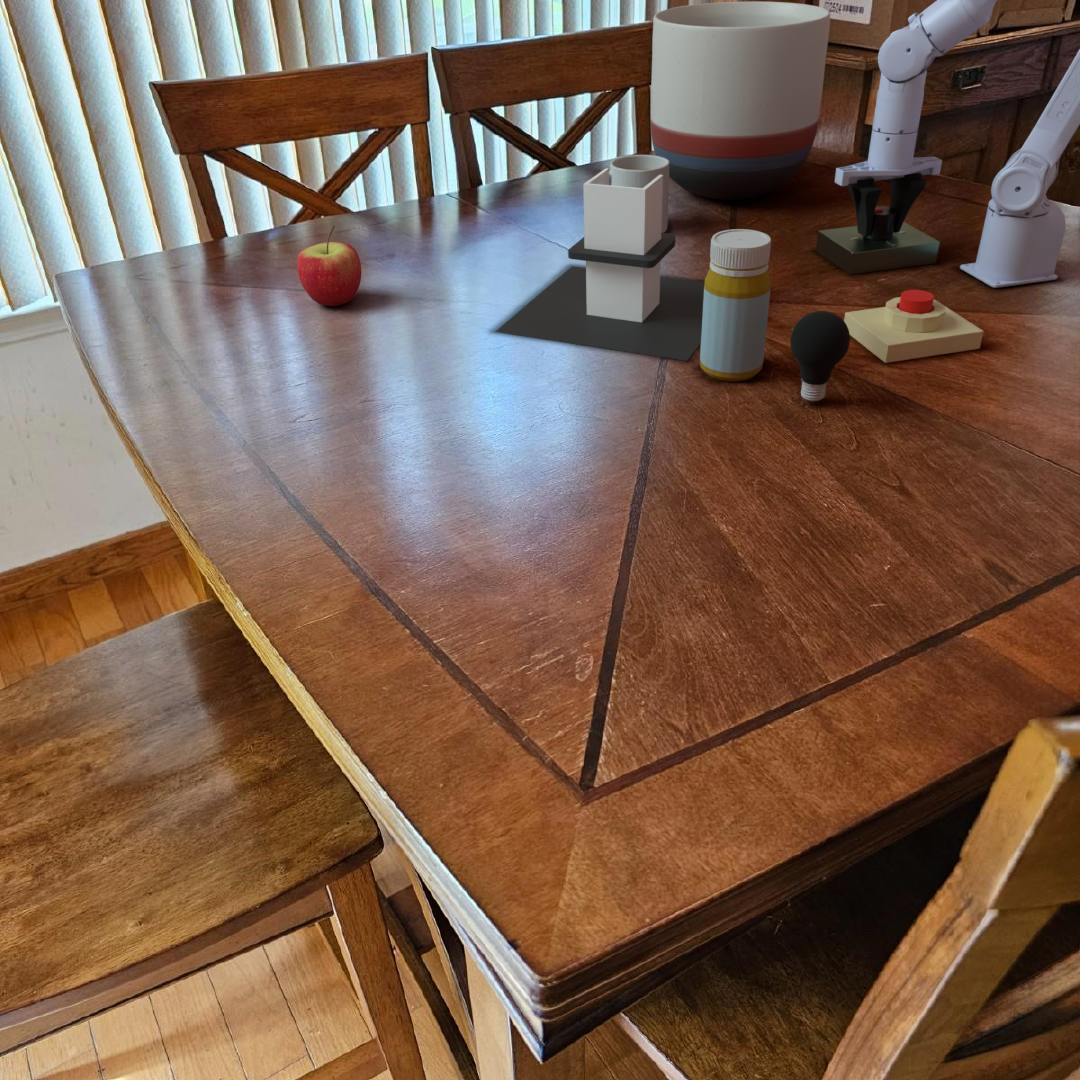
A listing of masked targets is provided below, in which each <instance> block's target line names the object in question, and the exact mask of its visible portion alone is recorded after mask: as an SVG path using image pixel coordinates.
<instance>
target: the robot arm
mask: <svg viewBox="0 0 1080 1080" xmlns="http://www.w3.org/2000/svg"><path fill="white" fill-rule="evenodd" d="M998 1H999V0H935V1H934V2H933V3H932V4H930V5H929V6H928V7H926V8H925V9H923V11H921V12H920V13H918V12H914V13H913V14H912V15H910V16H909V17H908V18H907V21H908V23H909V24H908V25H907V26H905V27H904V26H903V27H902V28H900V29H897V30H895V31H892V32H891V33H890V35H889V36H888V37H887V38H886V40H884V42H883V43H882V44H881V46H880V48H879V50H878V55H877V65H878V69H879V71H880V77H879V78H880V79H879V85H878V90H877V94H876V100H875V107H874V115H873V121H872V129H871V134H870V135H871V136H870V142H869V149H868V156H867V160H865V161H862V162H861V161H860V162H857V163H853V164H850V165H846V166H840V167H836V168H835V174H834V183H835V184H837V185H839V186H840V187H846V186H847V188H848V191H849V193H850V196H851V199H852V202H853V207H854V211H855V216H856V226H857V228H858V233H859V234H861V235H862V236H864V237H867V236H869V235H870V232H871V228H872V222H873V216H874V211H875V208H876V206H878V202H879V198H880V196H881V194H882V192H883V191H882V189H881V188H879V187H877V183H875V182H876V181H877V182H878V181H884V180H890V203H889V204H890V205H889V207H891V208H894V209H896V210H897V216H896V222H895V228H894V233H898V232H899V231H900V229H901V227H902V224H903V222H905V220H906V217H907V215H908V214H909V211H910V209H911V208H912V206H913V204H914V203H915V202H916V200H917V199H918V197H919V196H920V194H922V192H923V191H924V190H925V188H926V184H927V180H926V179H924V178H923V177H922V176H925V175H926V176H928V175H931V176H939V175H940V174H941V169H942V164H943V159H941V158H938V157H936V156H926V157H925V156H924V157H914V156H915V151H916V144H917V138H918V133H919V125H920V120H921V116H922V115H921V114H922V108H923V103H924V96H925V85H926V78H927V73H928V70H927V69H928V68H929V67H930V66H931V65H932V64H933V61H935V58H936V57H943V56H944V55H945V54H947V53H948V52H949V51H950V50H952V49H953V48H955V47H956V46H957V45H959V44H960V43H962V42H964V40H965V39H968V37H970V36H971V35H972V34H974V33H975V32H977V31H978V30H979V29H980V28H982V27H983V26H985V25H986V24H988V23H989V22H990V20H991V17H992V14H993V9H994V7H995V4H996V2H998ZM1056 87H1057V88H1056V89H1055V91H1054V93H1053V94H1052V96H1051V98H1050V100H1049V101H1048V103H1047V105H1046V106H1045V108H1044V110H1043V111H1042V113H1041V115H1040V116H1039V118H1038V120H1037V122H1036V124H1035V125H1034V127H1033V128H1032V130H1031V132H1030V134H1029V135H1028V137H1027V138H1026V140H1025V142H1024V143H1023V145H1022V147H1021V148H1019V149H1018V150H1017V151H1015V152H1014V153H1013V154H1011V156H1010V157H1009V159H1008V160H1007V161H1006V163H1005V165H1004V167H1003V168H1001V170H999V171H998V172H997V174H996V175H995V177H994V178H993V181H992V183H991V188H990V189H991V190H990V194H991V199H990V200H989V201H988V205H987V209H986V215H985V219H984V224H983V227H982V231H981V238H980V242H979V245H978V250H977V255H976V261H975V262H971V263H964V264H961V265H960V266H959V270H962V271H963V272H966V273H967V274H969V275H971V276H972V277H974V278H976V279H977V280H979V281H981V282H983V283H984V284H986V285H988V286H989V287H991V288H994V289H999V288H1006V287H1013V286H1019V285H1026V284H1033V283H1040V282H1048V281H1055V280H1057V279H1058V275H1057V274H1055V270H1056V267H1057V263H1058V259H1059V257H1060V256H1059V255H1060V252H1061V248H1062V245H1063V241H1064V237H1065V233H1066V218H1065V217H1066V216H1065V214H1064V212H1063V210H1062V209H1061V208H1060V206H1058V205H1057V204H1054V203H1050V202H1049V200H1048V197H1047V192H1048V190H1049V188H1050V187H1051V186H1052V185H1053V184H1054V182H1055V180H1056V179H1057V176H1058V174H1059V163H1060V159H1061V156H1062V155H1063V153H1064V151H1065V150H1066V148H1067V146H1068V145H1069V143H1070V141H1071V140H1072V138H1073V136H1074V135H1075V133H1076V131H1077V130H1078V128H1079V126H1080V49H1078V51H1077V53H1076V55H1075V56H1074V58H1073V59H1072V62H1071V63H1070V65H1069V67H1068V68H1067V70H1066V72H1065V74H1064V76H1063V77H1062V79H1061V81H1060V82H1059V84H1058V86H1056Z"/></svg>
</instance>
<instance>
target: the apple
mask: <svg viewBox="0 0 1080 1080" xmlns="http://www.w3.org/2000/svg"><path fill="white" fill-rule="evenodd" d="M335 227H336V225H332V227H331V229H330V231H329V233H328V237H327V241H326V242H321V243H317V244H314V245H312V246H308V247H307V248H305V249H303V250H301V251H300V252H299V254H298V255H297V262H296V266H297V267H296V269H297V276H298V278H299V281H300V283H301V286H302V287H303V290H304V291H305V292H306V294H307V295H308V296H309V298H311V299H312V301H314V302H316V303H317V304H318V305H322V306H327V307H338V306H342V305H345V304H347V303H348V302H350V301H351V300H353V298H355V296H356V295H357V293H358V291H359V288H360V285H361V282H362V263H361V259H360V256H359V253H358V251H357V250H356V248H355V247H354V246H353V245H351V244H350V243H347V242H341V241H340V242H339V241H330V238H331V236H332V233H333V232H334V229H335Z"/></svg>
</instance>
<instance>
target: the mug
mask: <svg viewBox="0 0 1080 1080" xmlns="http://www.w3.org/2000/svg"><path fill="white" fill-rule="evenodd" d="M669 166H670V163H669V161H668V160H667V159H666V158H663V157H659V156H656V155H653V154H631V155H625V156H620V157H617V158H615V159H613V160H611V162H610V164H609V185H612V186H623V187H634V188H644V187H645V186H646V185H647V184H649V183H650V182H651V181H652V180H654V179H655V178H656V177H657V176H659V175H663V194H662V226H661V233H666V232H667V230H668V225H669V223H668V222H669V220H668V219H669V194H670V192H669V191H670V177H669Z"/></svg>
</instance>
